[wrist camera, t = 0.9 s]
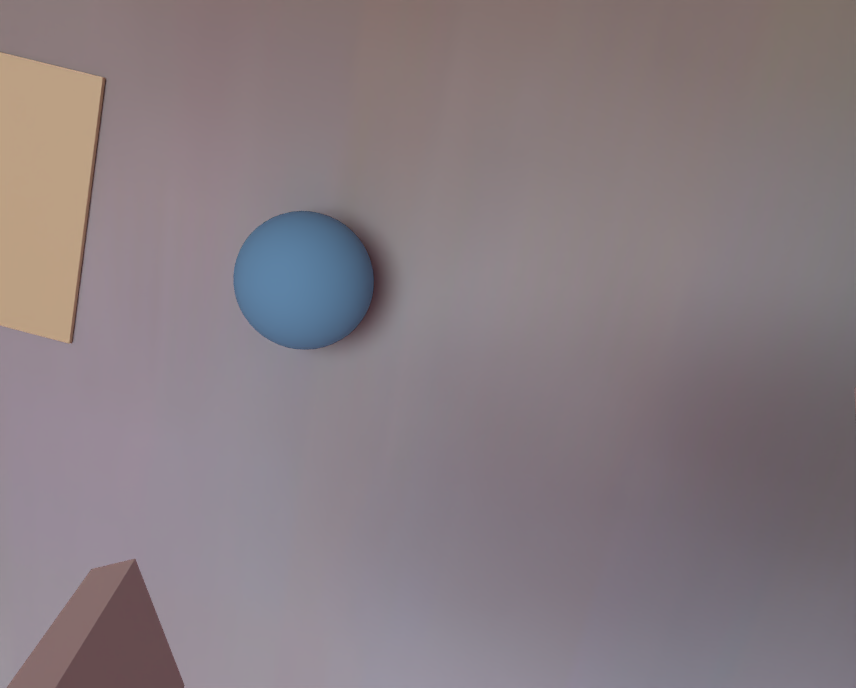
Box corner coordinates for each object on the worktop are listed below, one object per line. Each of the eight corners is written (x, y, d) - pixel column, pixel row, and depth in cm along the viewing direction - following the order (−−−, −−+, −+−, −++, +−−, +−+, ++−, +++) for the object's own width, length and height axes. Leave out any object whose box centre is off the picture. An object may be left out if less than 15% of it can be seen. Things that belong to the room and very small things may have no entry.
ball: (396, 229, 27) (374, 230, 22) (368, 349, 28) (341, 378, 23) (274, 198, 28) (223, 193, 22) (252, 319, 29) (198, 341, 23)
